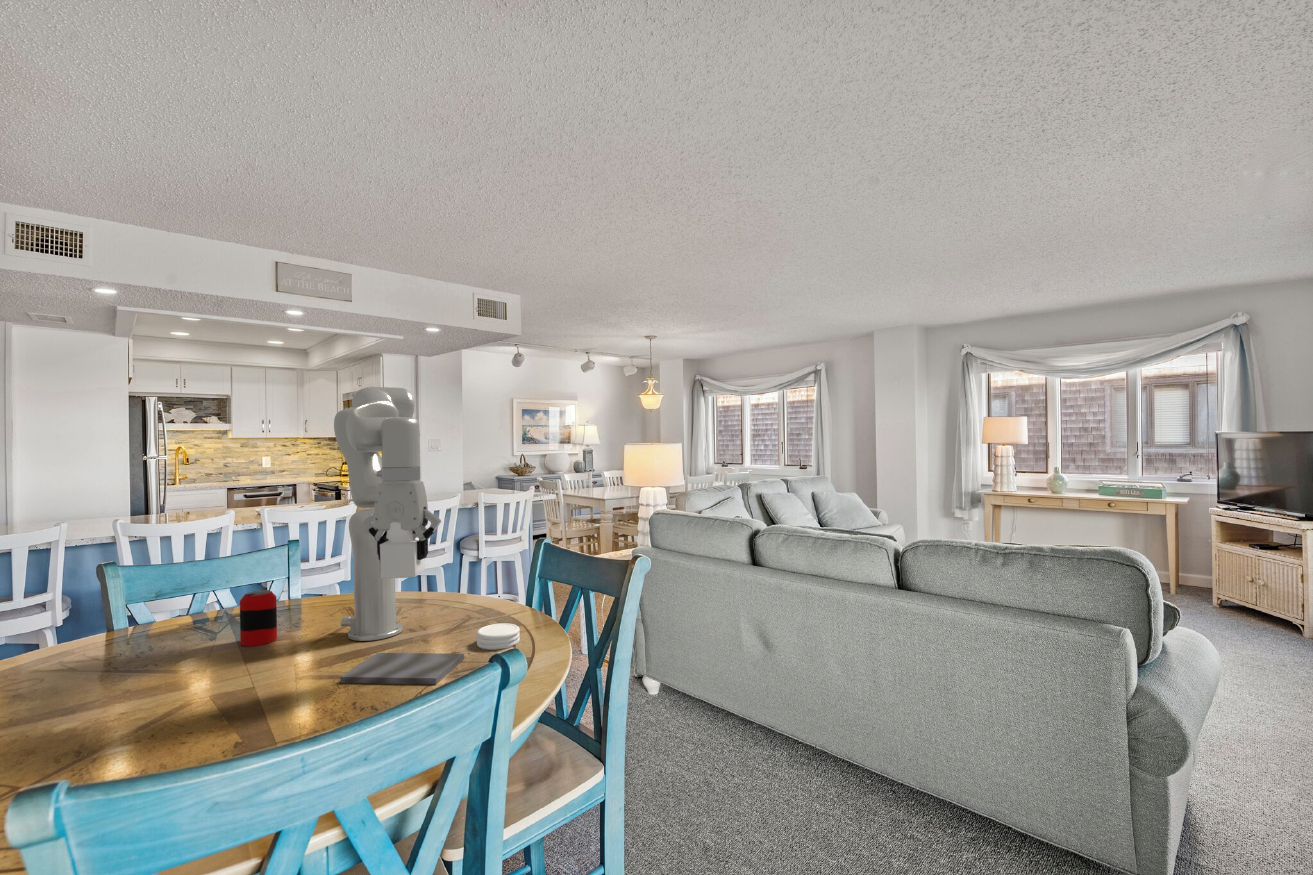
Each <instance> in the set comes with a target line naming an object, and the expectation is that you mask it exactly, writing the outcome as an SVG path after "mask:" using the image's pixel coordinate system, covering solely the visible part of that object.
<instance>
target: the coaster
mask: <svg viewBox="0 0 1313 875" xmlns="http://www.w3.org/2000/svg"><path fill="white" fill-rule="evenodd" d="M520 631H521V630H520V626H518V625H517V624H514V623H505V622H504V623H502V622H501V623H493V624H488V625H485V626H483V627H480V628H479V629H478V630H477V631H476V646H477V647H478V648H480V649H483V650H486V651H487V650H488V651H489V650H490V651H495V650H496V651H499V650H504V649H509V648H512V647H514V646H513V645H515V646H516V645H519V644H518V643H520V641H521V637H520V635H521V633H520Z"/></svg>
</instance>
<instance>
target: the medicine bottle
mask: <svg viewBox="0 0 1313 875" xmlns="http://www.w3.org/2000/svg"><path fill="white" fill-rule="evenodd" d="M416 537H417V535H416V533H415V531H414V530H402V529H401V523H398V522H393V523H390V530H387V538H388V539H389V540H388V541H386V542H384V543H382V544H380V578H381V579H385V578H395V579H406V578H407V579H409V578H411V579H413V578H416V577H417V576H419V575H420V574H421V573H423V572H424V571H425V570H426V563H425V562H426V560H425V559H426V558H424V559H422V560H418V559H417V541H419V538H416Z"/></svg>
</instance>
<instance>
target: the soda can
mask: <svg viewBox="0 0 1313 875" xmlns="http://www.w3.org/2000/svg"><path fill="white" fill-rule="evenodd" d="M277 608H278V607H277V595H276V594H275V593H273V591H272V590H269V589H268V590H267V589H265V590H264V589H263V590H254V591H250V592H249V591H248V592H246V593H245V594H244V595H243V596H242V598H241V599H240V600H239V632H240V634H239V636H240V637H239V640H240V645H243V646H242V647H245V646H246V648H254V647H261V646H264V645H268V644H272V643H273V642H275V641H276V640H277V639H278V619H277V618H278V617H277V616H278V613H277V612H278V611H277V610H278V609H277ZM260 645H261V646H260Z"/></svg>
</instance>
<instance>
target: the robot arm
mask: <svg viewBox="0 0 1313 875" xmlns="http://www.w3.org/2000/svg"><path fill="white" fill-rule="evenodd" d="M351 406H352V407H350V408H349V407H348V408H344V409H341V410H339V411H338V412H337V413H336V414H335V416H334V419H333V432H334V436H335V440H336V443H337V446H338V448H339V450H340V452H341V454H342V456H343V457H344V460H345V462H346V466H347V472H348V480H349V481H348V482H349V489H350V495H351V499H352V502H353V504H354V506H355V507H357V508H361V509H362V510H359V511H356V512H355V513H353V514H352V516H350V518H349V520H348V532H349V537H350V542H351V543H350V544H351V548H352V561H353V589H354V590H353V593H354V594H353V595H354V596H353V597H354V599H353V600H354V602H353V604H354V616H342V619H341V621H340V626H341V627H349V628H350V630H348V632H347V637H348V638H349V639H350V640H352V641H358V642H359V641H360V642H366V641H367V642H368V641H371V642H372V641H378V640H382V639H387V638H390V637H394V636H397V635H399V634H400V633H401V632H402V631H403V630H404V629H403V628H404V627H403V624H402V623H401V622H397V615H396V614H397V612H396V611H397V607H396V606H397V604H396V603H397V602H396V599H397V598H396V578H385V579H381V578H380V544H382V543H384V542H386V541H388V540H389V539H388V538H387V530H390V523H393V522H398V523H401V529H402V530H414V531H415V533H416V535H417V537H416V538H419V541H417V559H418V560H422V559H424V558H425V559H426V558H427V557H428V554H429V539H430V538H431V536H433V535H434V534H435V532H436V531H437V529H438V528H439V526H440V525H441V523H442V520H441V519H440V518H439V517H438V516H437V515H435V514H433V512H431V511H430V510H429V506H428V497H427V491H426V488H425V484H424V483H425V482H424V481H421V439H420V438H421V432H420V431H421V429H420V422H419V420H418V419H417V418H415V417H413V416H414V414H415V407H416V405H415V400H414V397H413V394H412V393H411V392H410V391H409V390H408V389H406V388H404V387H387V386H386V387H385V386H384V387H379V386H369V387H363V388H361V389H359V390H358V391H356V392H355V393H354V394H353V397H352V399H351ZM379 452H381V454H380V453H379ZM429 522H430V525H429V526H428V523H429ZM427 526H428V528H427Z"/></svg>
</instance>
